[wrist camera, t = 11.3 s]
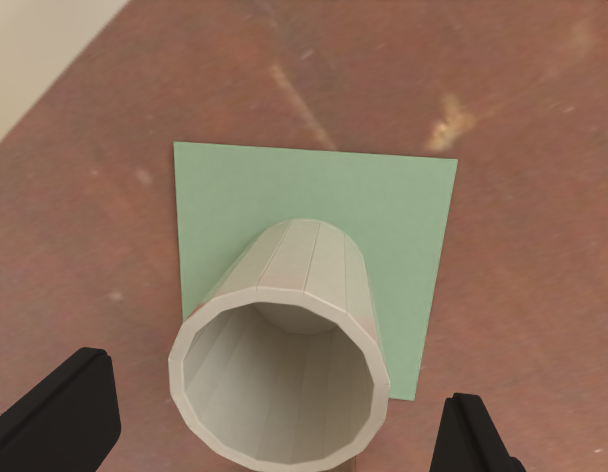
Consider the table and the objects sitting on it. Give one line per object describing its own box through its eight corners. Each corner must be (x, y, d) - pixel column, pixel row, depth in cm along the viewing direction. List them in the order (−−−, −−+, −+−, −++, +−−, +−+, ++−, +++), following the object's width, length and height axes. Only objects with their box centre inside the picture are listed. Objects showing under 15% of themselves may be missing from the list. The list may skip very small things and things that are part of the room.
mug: (241, 212, 18) (161, 276, 10) (375, 223, 18) (404, 300, 10) (241, 372, 21) (178, 520, 13) (356, 385, 21) (365, 550, 12)
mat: (175, 141, 18) (172, 141, 18) (456, 159, 17) (458, 159, 16) (187, 370, 22) (185, 373, 22) (413, 397, 21) (414, 401, 20)
